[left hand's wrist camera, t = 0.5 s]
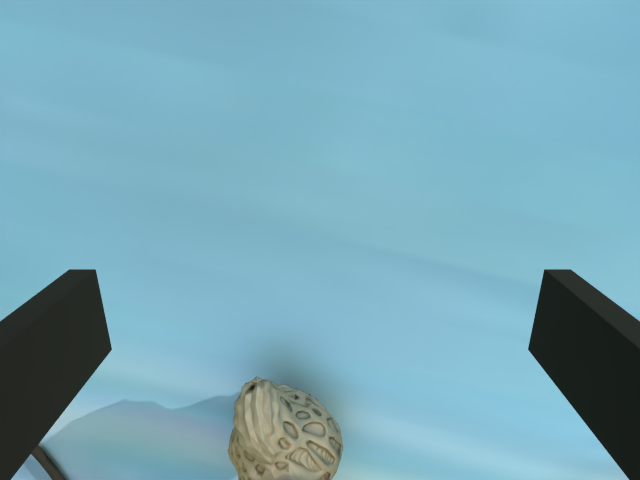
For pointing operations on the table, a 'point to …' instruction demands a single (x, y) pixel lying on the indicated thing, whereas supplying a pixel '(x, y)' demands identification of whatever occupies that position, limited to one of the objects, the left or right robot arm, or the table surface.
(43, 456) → the right robot arm
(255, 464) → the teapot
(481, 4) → the table surface
